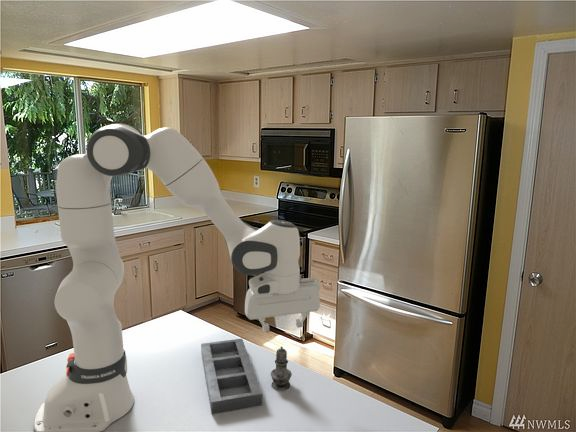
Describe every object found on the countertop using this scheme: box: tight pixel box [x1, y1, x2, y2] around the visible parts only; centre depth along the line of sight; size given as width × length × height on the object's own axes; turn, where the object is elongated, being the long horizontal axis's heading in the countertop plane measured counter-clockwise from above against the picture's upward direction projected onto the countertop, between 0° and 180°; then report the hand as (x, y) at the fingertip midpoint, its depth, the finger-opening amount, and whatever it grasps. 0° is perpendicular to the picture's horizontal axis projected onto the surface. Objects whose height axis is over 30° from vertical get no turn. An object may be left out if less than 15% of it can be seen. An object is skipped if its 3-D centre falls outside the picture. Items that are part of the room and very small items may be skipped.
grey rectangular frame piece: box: [200, 338, 263, 415], centre depth 120 cm, size 13×29×4 cm, turn 16°
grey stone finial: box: [270, 346, 293, 392], centre depth 116 cm, size 6×6×12 cm
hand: (282, 328), depth 113 cm, fingers open, 8 cm apart
